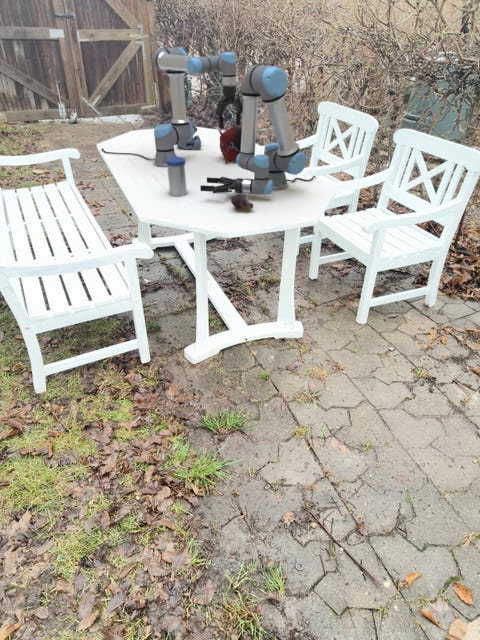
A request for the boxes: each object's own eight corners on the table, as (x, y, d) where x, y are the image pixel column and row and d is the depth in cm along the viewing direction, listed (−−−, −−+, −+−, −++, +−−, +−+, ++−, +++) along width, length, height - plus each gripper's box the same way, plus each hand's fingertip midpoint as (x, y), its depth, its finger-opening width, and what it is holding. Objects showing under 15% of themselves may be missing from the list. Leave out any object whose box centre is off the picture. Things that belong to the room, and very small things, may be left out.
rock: (244, 206, 231) (227, 209, 227) (243, 189, 228) (226, 192, 224) (256, 210, 222) (238, 213, 218) (255, 192, 218) (237, 195, 214)
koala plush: (201, 150, 322) (199, 120, 311) (176, 150, 321) (173, 121, 310) (201, 144, 336) (199, 116, 325) (177, 144, 335) (174, 116, 324)
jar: (174, 197, 241) (171, 163, 231) (167, 192, 247) (164, 159, 237) (189, 194, 245) (187, 161, 235) (182, 189, 251) (179, 157, 241)
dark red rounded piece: (216, 132, 305) (216, 129, 282) (250, 124, 304) (252, 121, 281) (223, 164, 312) (223, 164, 288) (256, 157, 311) (259, 156, 288)
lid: (171, 167, 231) (170, 163, 230) (163, 163, 238) (163, 159, 237) (188, 164, 236) (188, 160, 235) (180, 160, 243) (179, 156, 241)
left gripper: (217, 88, 236) (218, 131, 248) (249, 83, 250) (249, 124, 262) (207, 86, 240) (209, 129, 252) (240, 82, 255) (240, 122, 267)
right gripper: (238, 201, 227) (198, 198, 231) (247, 185, 247) (209, 183, 251) (238, 186, 223) (197, 184, 226) (247, 171, 243) (209, 170, 246)
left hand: (230, 126), depth 257 cm, fingers open, 13 cm apart
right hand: (203, 184), depth 239 cm, fingers open, 13 cm apart
